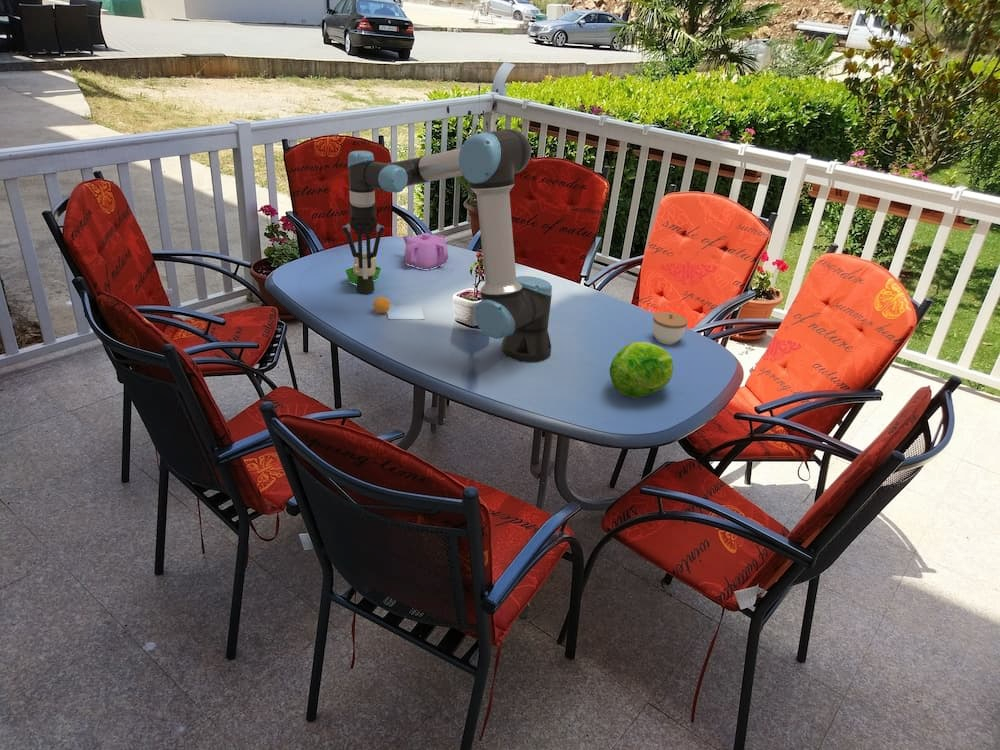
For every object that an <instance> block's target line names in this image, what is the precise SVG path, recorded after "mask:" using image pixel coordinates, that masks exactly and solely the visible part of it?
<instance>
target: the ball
mask: <svg viewBox="0 0 1000 750" xmlns="http://www.w3.org/2000/svg"><path fill="white" fill-rule="evenodd" d="M391 305H392V304H391V302H390V299H388V297H385V296H378V297H376V298H375V300H374V301H373V308H374V311H375V312H377V313H378V314H386V313H387V312H388V311H389V309H390V306H391Z"/></svg>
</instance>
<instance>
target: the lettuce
mask: <svg viewBox="0 0 1000 750" xmlns="http://www.w3.org/2000/svg"><path fill="white" fill-rule="evenodd" d="M673 372H674V364H673V357H672V355H671V354H670V353H669V352H668V351H666V350H665V349H664V348H663V347H661V346H659V345H656V344H653V343H651V342H648V341H633V342H630V343H628V344H627V345H625V346H624V347H622V348H621V349H620V350H619V351H618V353H616V354H615V356H613V359H612V360H611V364H610V367H609V376H610V380H611V383H612V385H613V387H614V389H615V390H616V391H617V392H618V393H619V394H620V395H622V396H626V397H630V398H634V399H639V398H642V397H645V396H649V395H653V394H655V393H657V392H658V391H660V390H662V389H663V388H664V387H666V386H667V385H668V384H669V383H670V380H671V379H672V378H673Z"/></svg>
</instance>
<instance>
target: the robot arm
mask: <svg viewBox="0 0 1000 750" xmlns="http://www.w3.org/2000/svg"><path fill="white" fill-rule="evenodd" d="M531 155H532V148H531V144H530V141H529V140H528V138H527V136H526V135H524V134H523V133H522V132H520V131H518V130H517V129H511V128H506V129H501V130H493V131H486V132H485V131H484V132H480V133H477V134H474V135H471V136H469V137H468V138H467V139H466V140H464V143H463V144H462V145H461V147H459V148H453V149H451V150H447V151H441V152H437V153H433V154H432V153H431V154H428V155H424V156H418V157H414V158H410V159H405V160H404V159H403V160H398V161H392V162H385V163H384V162H379V161H375V157H374V153H373V152H372V151H369V150H354V151H351V152H349V153H348V157H347V169H348V172H347V173H348V185H349V191H348V192H349V203H350V205H349V208H350V209H349V210H350V211H349V213H350V220H349V223H347V224H346V225H342V231H343V232H344V233H345V236H346V238H347V241H348V245H349V247H350V251H351V254H352V257H353V258H354V257H357V258H358V259H359V268H363V279H368V268H371V258H372V257H375V258H376V257H377V255H378V250H379V246H380V241H381V238H382V234H384V233H383V232H384V231H385V226H384V225H381V224H379V223H378V220H377V218H376V205H375V203H376V194H375V193H376V192H375V191H376V189H377V190H382V191H385V192H387V193H398V194H399V193H401V192H402V191H403V190H404V189H405V188H406V187H409V186H414V185H419V184H420V185H421V184H425V183H429V182H434V181H435V182H436V181H439V180H445V179H450V178H456V177H461V176H464V179H465V180H466V181H468V182H469V188H470V190H471V191H472V192H473V193H475V195H476V202H477V211H478V212H477V213H478V221H479V232H480V241H481V243H480V244H481V253H482V261H483V262H482V263H483V264H482V265H483V274H484V284H483V285H482V286H481V288H480V299H481V301H479V302H478V303H477V305H476V307H475V309H474V312H473V313H474V319H475V322H476V325H477V326H478V328H479V329H480V331H482V332H483V333H484V334H485V335H486V336H487V337H488V338H492V339H495V340H496V339H497V340H498V339H502V341H501V349H502V350H501V353H502V352H503V353H504V354H505V355H504V354H503V353H502V354H503V355H504V356H505V357H507V356H508V357H507V358H509V357H510V358H509V359H511V358H512V359H511V360H514V359H515V361H517V360H518V362H522V361H526V362H525V363H536V362H537V363H538V362H541V361H544V360H547V359H548V358H549V357H550V356H551V354H552V353H551V352H552V342H551V338H550V335H549V331H548V329H549V322H550V321H549V320H550V313H551V304H552V297H553V288H552V287H553V286H552V285H551V283H550V282H549V281H547V280H545V279H543V278H539V277H536V276H530V275H519V276H517V272H516V261H515V259H516V258H515V248H514V236H513V235H514V234H513V222H512V221H513V220H512V211H511V197H510V192H511V190H512V189H513V187H514V186H515V175H516V174H518V173H520V172H522V171H523V170H524V169H525V168H526V167H527V166H528V164H529V162H530V160H531ZM375 229H376V230H375ZM352 230H353V231H354V232H355V234H357V248H356V246H355V243H354V240H353V237H352V233H351V231H352ZM374 230H375V231H376V235H375V238H374V239H375V240H374V243H373V248H372V250H371V234H372V233H373V231H374ZM363 235H365V241H366V243H365V245H366V247H365V248H366V253H367V257H362V253H363ZM356 249H357V250H356ZM371 251H372V252H371Z"/></svg>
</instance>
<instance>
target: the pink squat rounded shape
mask: <svg viewBox="0 0 1000 750" xmlns="http://www.w3.org/2000/svg"><path fill="white" fill-rule="evenodd" d="M402 239H403V241H404V243H405V250H404V263H407V264H409V265H413V266H415V267H419V268H422V269H431V268H434V267H437V266H439V265H442V264H444V263H446V264H447V261H448V259H449V255H448V254H449V252H448V251H449V249H448V245H447V244H446V243H447V241H446V235H444V234H443V235H442V234H441V235H439V236H438V235H436V234H431V233H429V232H423V233H420V234H417V235H414V236H412V237H410V236H409V235H403V236H402ZM444 265H445V264H444Z"/></svg>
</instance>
